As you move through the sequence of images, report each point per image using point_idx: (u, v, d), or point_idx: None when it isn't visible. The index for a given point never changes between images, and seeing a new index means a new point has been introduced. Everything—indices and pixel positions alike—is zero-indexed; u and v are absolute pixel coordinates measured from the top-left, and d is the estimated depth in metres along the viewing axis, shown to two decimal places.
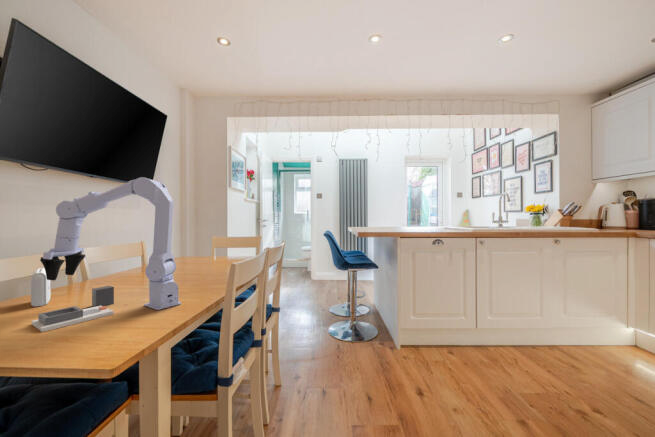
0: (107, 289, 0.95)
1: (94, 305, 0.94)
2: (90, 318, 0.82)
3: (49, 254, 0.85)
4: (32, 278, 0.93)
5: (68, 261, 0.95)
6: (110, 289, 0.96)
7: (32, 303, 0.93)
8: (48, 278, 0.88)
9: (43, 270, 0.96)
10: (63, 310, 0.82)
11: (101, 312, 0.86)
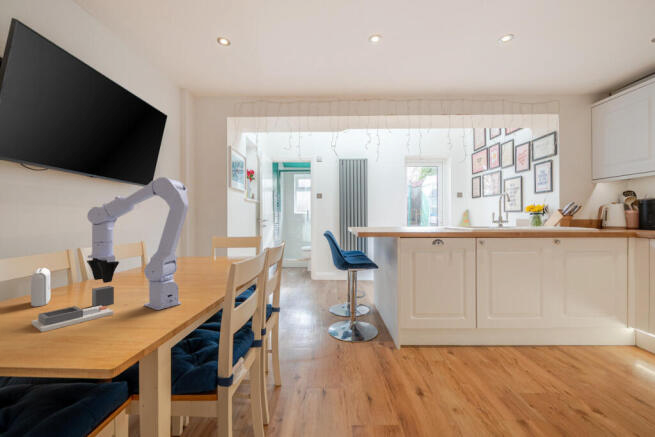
0: (107, 289, 0.95)
1: (94, 305, 0.94)
2: (90, 318, 0.82)
3: (114, 257, 0.92)
4: (32, 278, 0.93)
5: (95, 267, 0.97)
6: (110, 289, 0.96)
7: (32, 303, 0.93)
8: (105, 281, 0.93)
9: (43, 270, 0.96)
10: (63, 310, 0.82)
11: (101, 312, 0.86)
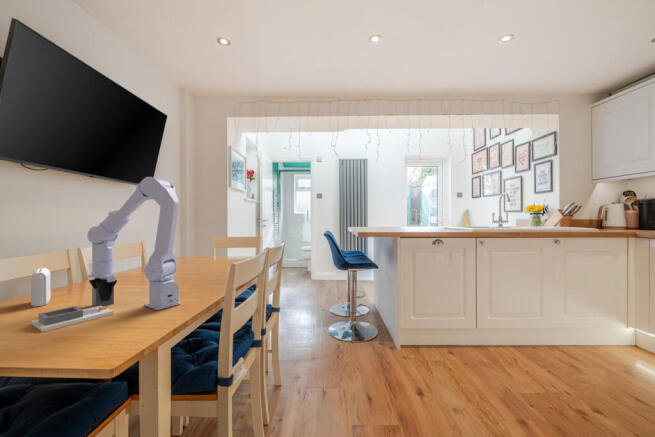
0: None
1: (94, 305, 0.94)
2: (90, 318, 0.82)
3: (114, 276, 0.93)
4: (32, 278, 0.93)
5: (97, 286, 0.96)
6: None
7: (32, 303, 0.93)
8: (104, 300, 0.94)
9: (43, 270, 0.96)
10: (63, 310, 0.82)
11: (101, 312, 0.86)
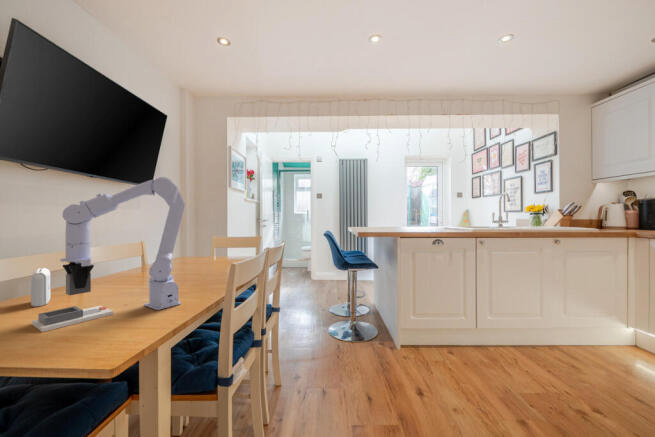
0: None
1: (68, 292, 0.84)
2: (90, 318, 0.82)
3: (89, 260, 0.82)
4: (32, 278, 0.93)
5: None
6: None
7: (32, 303, 0.93)
8: (78, 287, 0.84)
9: (43, 270, 0.96)
10: (63, 310, 0.82)
11: (101, 312, 0.86)
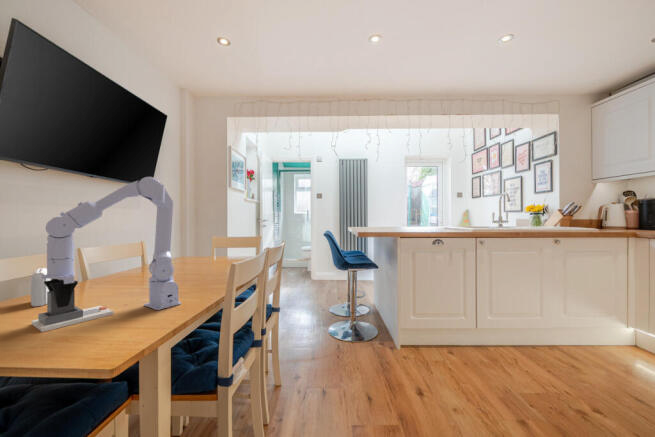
0: None
1: (49, 311, 0.78)
2: (90, 318, 0.82)
3: (72, 277, 0.77)
4: (32, 278, 0.93)
5: None
6: None
7: (32, 303, 0.93)
8: (61, 305, 0.78)
9: (43, 270, 0.96)
10: None
11: (101, 312, 0.86)
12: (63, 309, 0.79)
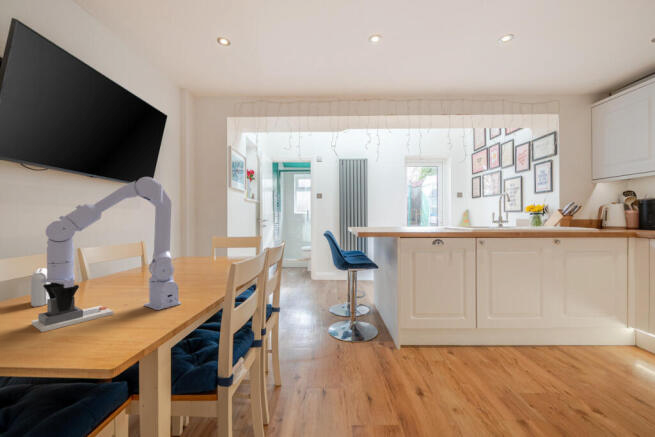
0: None
1: None
2: (90, 318, 0.82)
3: (72, 281, 0.77)
4: (32, 278, 0.93)
5: (53, 292, 0.81)
6: None
7: (32, 303, 0.93)
8: (62, 309, 0.78)
9: (43, 270, 0.96)
10: None
11: (101, 312, 0.86)
12: None
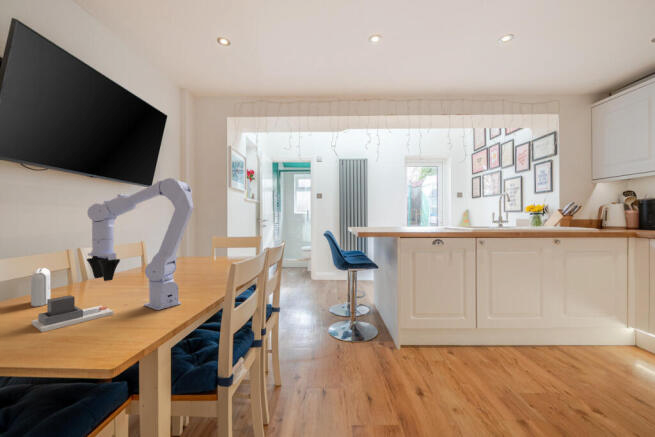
0: (66, 300, 0.80)
1: None
2: (90, 318, 0.82)
3: (115, 254, 0.91)
4: (32, 278, 0.93)
5: (95, 265, 0.95)
6: (70, 300, 0.80)
7: (32, 303, 0.93)
8: (106, 279, 0.91)
9: (43, 270, 0.96)
10: None
11: (101, 312, 0.86)
12: None
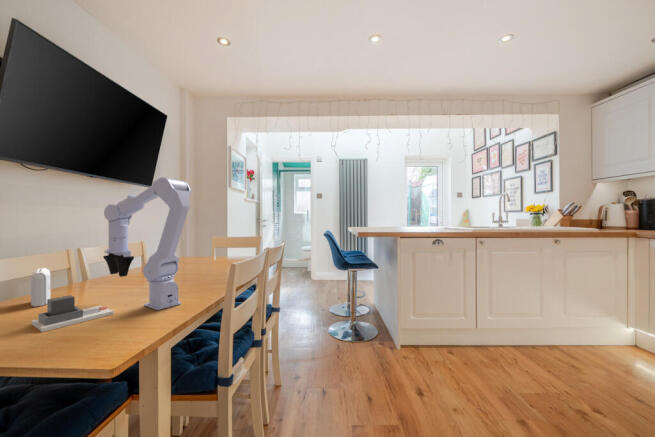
0: (66, 300, 0.80)
1: None
2: (90, 318, 0.82)
3: (129, 252, 0.97)
4: (32, 278, 0.93)
5: (111, 262, 1.02)
6: (70, 300, 0.80)
7: (32, 303, 0.93)
8: (122, 275, 0.98)
9: (43, 270, 0.96)
10: None
11: (101, 312, 0.86)
12: None
